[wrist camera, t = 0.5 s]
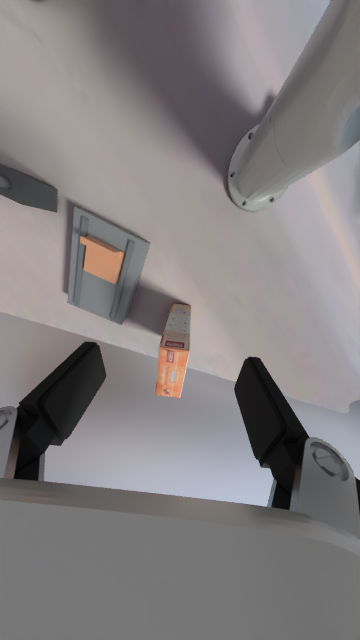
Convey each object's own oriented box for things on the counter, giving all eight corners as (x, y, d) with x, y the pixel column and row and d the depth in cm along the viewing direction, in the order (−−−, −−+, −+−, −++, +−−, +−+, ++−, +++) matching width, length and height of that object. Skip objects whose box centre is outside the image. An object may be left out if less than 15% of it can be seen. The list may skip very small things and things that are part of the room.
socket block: (86, 210, 33) (71, 205, 29) (150, 243, 36) (145, 243, 32) (77, 298, 44) (65, 303, 40) (126, 318, 47) (120, 326, 43)
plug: (40, 180, 31) (-27, 152, 22) (61, 191, 32) (5, 168, 22) (41, 203, 33) (-20, 187, 24) (60, 213, 34) (8, 201, 24)
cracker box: (171, 302, 43) (157, 346, 25) (191, 305, 43) (192, 351, 25) (167, 339, 50) (154, 396, 31) (184, 342, 50) (181, 400, 31)
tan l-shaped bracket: (89, 235, 32) (78, 235, 29) (124, 252, 33) (116, 253, 30) (85, 269, 36) (74, 272, 32) (116, 283, 37) (109, 287, 34)
